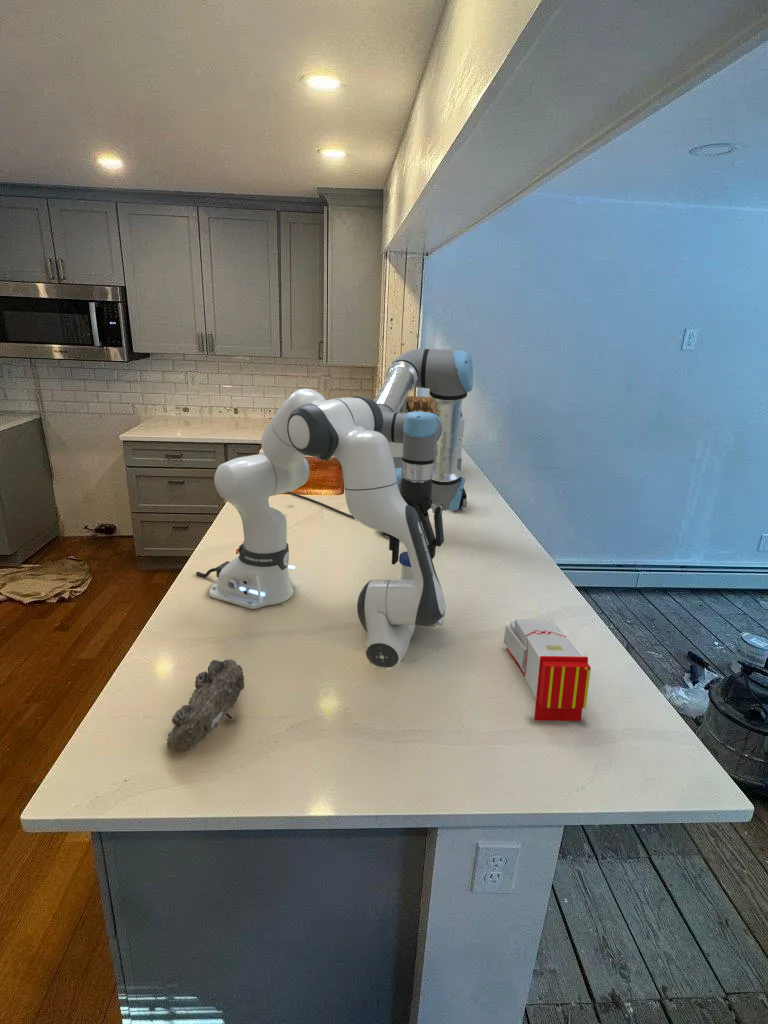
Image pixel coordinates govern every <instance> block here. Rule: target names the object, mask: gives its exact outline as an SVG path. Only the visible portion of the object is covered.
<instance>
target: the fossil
mask: <svg viewBox="0 0 768 1024" xmlns="http://www.w3.org/2000/svg"><path fill="white" fill-rule="evenodd" d="M243 670H244V669H243V667H242V665H240V664H237V662H236V661H235V660H234V659H232V658H231V659H227V658H226V659H224V660H223V661H222V660H217V659H212V660H211V661H210V663H209V665H208V666H207V671H201V672H199V673H198V674H197V675H196V676H195V680H194V684H195V685H194V687H195V689H194V690H193V693H192V694H191V697H190V698H189V700H188V704H184V705H182V706H181V707H180V709H177V710H176V711H175V713H174V715H173V716H172V718H171V723H172V724H173V727H172V730H171V731H170V732H168V734H167V738H166V741H167V742H166V745H167V749H168V750H169V751H173V752H174V753H176V754H178V753H182V752H188V751H189V752H192V751H193V750H195V748H196V747H197V746H199V744H200V743H201V742H203V741H204V740H205V739H206V738H207V737H208V736H209V735H210V734H211V733H212V732H214V730H215V729H217V727H218V726H219V724H220V722H221V721H222V720H223V719H224V718H225V716H226V717H227V719H229V720H233V717H232V715H230V714H229V710H230V709H231V708H234V706H235V704H236V703H237V702H238V699H239V697H240V695H241V693H242V691H243V690H245V689H244V688H245V675H244V671H243Z"/></svg>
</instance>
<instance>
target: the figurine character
mask: <svg viewBox="0 0 768 1024" xmlns="http://www.w3.org/2000/svg"><path fill="white" fill-rule="evenodd" d="M467 495H468V494H467V493H466V490H465V487H463V492H462V496H461V500H460V504H459V508H458V509H459V510H460V512H463V509H464V508H465V509H466V508H467V506H468V499H467V497H468V496H467ZM458 509H457V510H458Z"/></svg>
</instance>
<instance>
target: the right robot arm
mask: <svg viewBox="0 0 768 1024" xmlns="http://www.w3.org/2000/svg"><path fill="white" fill-rule="evenodd" d="M473 366H474V364H473V359H472V355H471V354H470V353H469V352H468V351H463V350H457V349H440V348H439V349H437V348H424V347H423V348H422V347H421V348H415V349H411V350H409V351H406V352H404V353H402V354H401V355H399V356H397V357H396V358H395V359H394V360H393V361H392V362H391V363H390V364H389V366H388V367H387V369H386V372H385V380H384V382H383V383H382V385H381V387H380V389H379V391H378V393H376V396H375V398H374V400H373V401H375V402H376V403H377V404H378V406H379V407H380V409H381V412H382V415H383V428H382V431H381V434H383V435H384V436H385V437H386V438H387V440H388V442H393V443H403V455H402V467H401V468H396V469H395V470H396V476H397V484H398V489H399V491H400V494H401V496H402V498H403V499H404V501H405V502H406V503H407V504H408V505H410V506H412V507H414V508H415V510H416V512H417V514H418V516H419V518H420V521H421V524H422V527H423V530H424V534H425V537H426V540H427V544H428V547H429V551H430V554H431V558H432V560H433V559H435V556H436V550H437V547H441V546H442V545H443V544H444V543H445V535H444V523H443V511H445V512H446V511H451V512H452V511H453V512H456V511H457V510H458V508H459V504H460V500H461V496H462V492H463V487H464V486H465V483H466V478H465V477H463V476H462V470H461V471H460V470H459V469H458V468H457V461H458V447H459V432H460V418H462V417H461V412H462V403H463V402H462V401H463V400H465V399H466V398H467V396H468V393H469V392H472V391H473V386H474V367H473ZM415 388H417V389H419V388H421V389H429V392H428V395H429V397H432V398H433V399H434V412H433V413H430V412H421V411H414V412H409V413H399V411H400V409H401V407H402V405H403V403H404V401H405V399H406V397H407V396H409V393H410V392H411V391H412V390H413V389H415ZM464 488H465V487H464ZM285 494H288V495H292V496H295V497H298V498H301V499H305V500H308V501H309V502H313V503H316V504H318V505H319V506H323V507H325V508H328V509H330V510H332V511H334V512H336V513H339V514H341V515H343V516H346V517H348V518H352V519H355V518H354V517H353V516H352V515H351V514H349V513H347V512H344V511H341V510H339V509H336V508H334V507H332V506H330V505H328V504H326V503H323V502H320V501H318V500H315V499H313V498H310V497H307V496H304V495H301V494H298V493H295V492H292V491H290V492H286V493H285ZM459 509H460V508H459ZM429 510H432V511H431V512H432V514H433V524H434V529H433V525H432V523H431V520H430V515H429ZM378 533H379V534H380V535H381V536H382V537H385V538H387V539H388V540H389V541H388V550H389V551H391V565H394V566H395V565H396V564H397V563H398V562H399V556H400V543H401V541H400V540H399V539H397V538H396V537H394V536H392V535H390V534H387V533H385V532H382V531H378Z"/></svg>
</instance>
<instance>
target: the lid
mask: <svg viewBox="0 0 768 1024" xmlns="http://www.w3.org/2000/svg"><path fill="white" fill-rule="evenodd" d="M398 562H399V564H400V565H401V564H402V565H404V566H407V567H412V566H411V563H410V559H409V556H408V553H407V550H406V551H402V552H400V553H399V559H398Z"/></svg>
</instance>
